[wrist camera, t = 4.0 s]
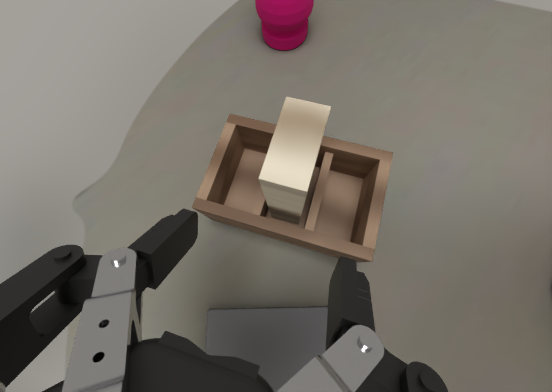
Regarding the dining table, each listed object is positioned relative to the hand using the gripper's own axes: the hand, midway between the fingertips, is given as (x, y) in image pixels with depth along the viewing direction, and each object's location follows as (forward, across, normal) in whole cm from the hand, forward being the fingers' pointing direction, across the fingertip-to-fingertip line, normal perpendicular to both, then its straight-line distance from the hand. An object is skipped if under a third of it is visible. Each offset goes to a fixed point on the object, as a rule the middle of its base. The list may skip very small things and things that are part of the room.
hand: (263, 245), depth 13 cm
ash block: (+13, 0, +4) cm, 14 cm away
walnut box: (+14, 0, +4) cm, 15 cm away
